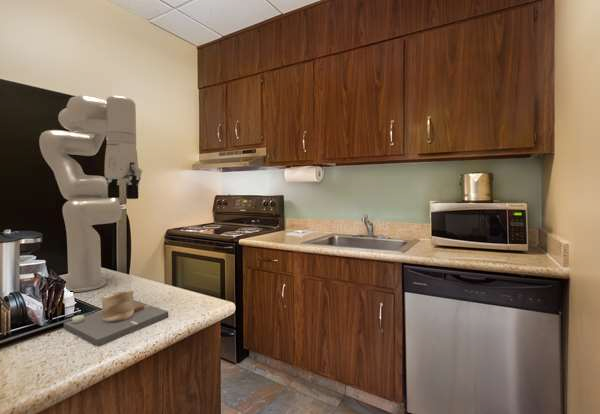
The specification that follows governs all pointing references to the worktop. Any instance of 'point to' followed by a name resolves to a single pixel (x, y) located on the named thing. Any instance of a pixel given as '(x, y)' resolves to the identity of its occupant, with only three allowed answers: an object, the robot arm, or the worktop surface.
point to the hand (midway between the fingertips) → (122, 198)
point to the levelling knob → (119, 306)
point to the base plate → (113, 324)
